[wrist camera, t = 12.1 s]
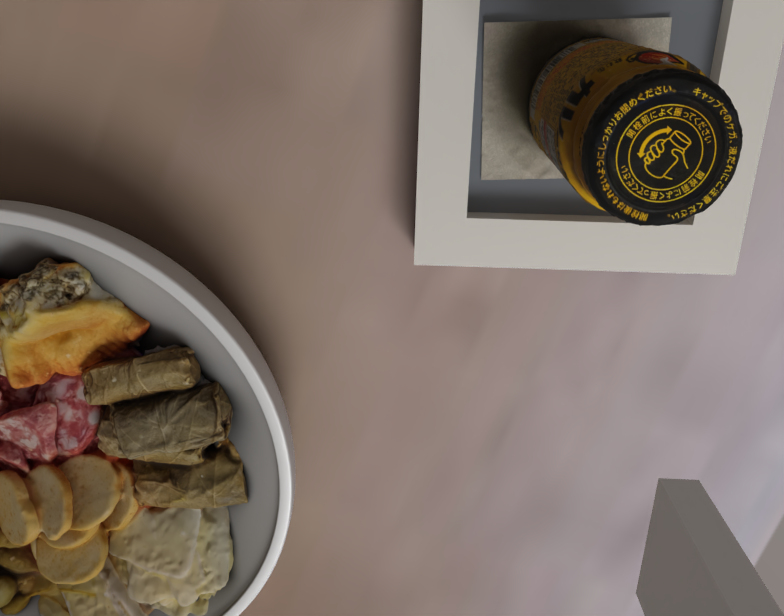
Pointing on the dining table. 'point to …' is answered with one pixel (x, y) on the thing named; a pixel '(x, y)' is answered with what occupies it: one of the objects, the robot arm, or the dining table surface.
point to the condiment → (607, 116)
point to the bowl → (130, 431)
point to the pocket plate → (556, 196)
